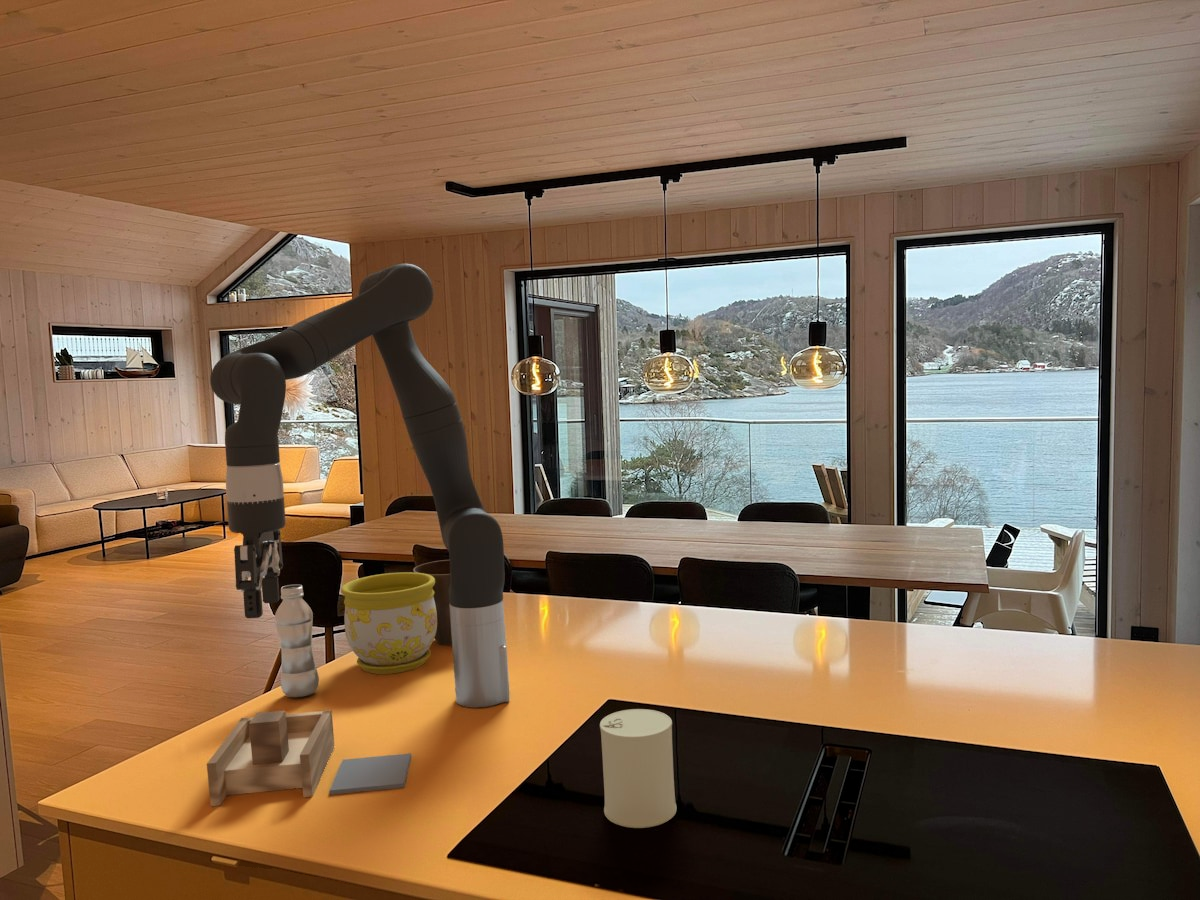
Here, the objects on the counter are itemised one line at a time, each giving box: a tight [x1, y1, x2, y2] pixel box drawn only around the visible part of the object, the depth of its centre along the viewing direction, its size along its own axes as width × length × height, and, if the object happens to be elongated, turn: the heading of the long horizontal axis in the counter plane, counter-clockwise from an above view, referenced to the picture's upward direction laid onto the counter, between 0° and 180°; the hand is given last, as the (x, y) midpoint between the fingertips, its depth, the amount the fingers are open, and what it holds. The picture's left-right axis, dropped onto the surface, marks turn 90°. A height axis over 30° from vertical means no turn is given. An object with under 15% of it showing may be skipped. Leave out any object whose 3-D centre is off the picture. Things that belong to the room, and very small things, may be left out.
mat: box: [329, 752, 412, 795], centre depth 130 cm, size 10×10×1 cm
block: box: [249, 710, 289, 765], centre depth 129 cm, size 4×4×6 cm
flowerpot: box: [340, 571, 437, 675], centre depth 179 cm, size 18×18×16 cm
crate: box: [206, 710, 335, 807], centre depth 131 cm, size 13×16×6 cm
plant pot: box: [413, 559, 452, 646], centre depth 193 cm, size 15×15×16 cm
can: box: [599, 708, 677, 829], centre depth 115 cm, size 9×9×12 cm
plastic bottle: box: [274, 584, 320, 698], centre depth 164 cm, size 6×7×20 cm
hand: (263, 609), depth 129 cm, fingers open, 8 cm apart
